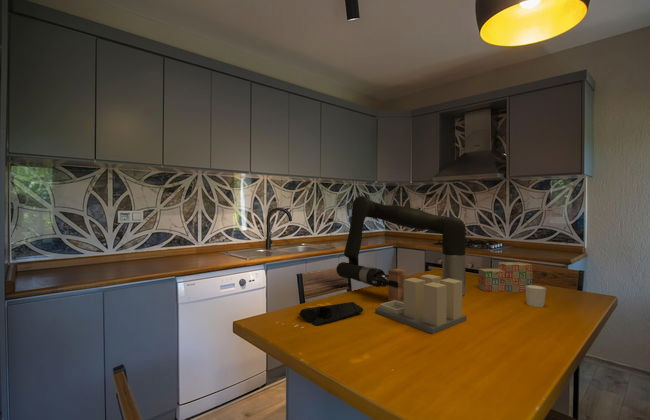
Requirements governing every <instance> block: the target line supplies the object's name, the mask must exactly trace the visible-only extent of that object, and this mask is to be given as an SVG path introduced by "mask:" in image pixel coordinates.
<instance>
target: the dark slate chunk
mask: <svg viewBox="0 0 650 420" xmlns="http://www.w3.org/2000/svg"><path fill="white" fill-rule="evenodd" d="M363 312H364V308H363V306H361V305H359V304H357V303H356V302H354V301H349V302H343V303H336V304H328V305H321V306H315V307H314V306H313V307H306V308H302V309H301V310H300V311H299V313H298V316H300V317H302V319H303V320H304V321H305V322H307V323H309V324H312V325H314V326H322V325H325V324H330V323H335V322H338V321H340V320H344V319H348V318H351V317H354V316H357V315H359V314H360V313H363Z"/></svg>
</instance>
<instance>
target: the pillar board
mask: <svg viewBox="0 0 650 420" xmlns="http://www.w3.org/2000/svg"><path fill="white" fill-rule="evenodd" d="M419 276H420V278H416V277H410V278H406V279H405V280H404V301H401V302H399V301H396V300H394V301H391V300H389V301H387V302H382V303H379V307H376V308H375V309H374V313H375V314H378V315H380V316H384V317H386V318H389V319H392V320H394V321H397V322H399V323H403V324H404V325H407V326H410V327H413V328H416V329H419V330H422V332H426V333H429V334H432V335H434V334H436V333H438V332H441V331H443V330H446V329H449V328H452V327H454V326H456V325H458V324H461V323H464V322H466V321H467V315H464V314H463V296H462V281H459V280H454V279H450V278H448V279H444V280H442V276H439V275H435V274H423V275H419Z"/></svg>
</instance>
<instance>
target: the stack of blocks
mask: <svg viewBox="0 0 650 420" xmlns="http://www.w3.org/2000/svg"><path fill="white" fill-rule="evenodd" d="M533 271H534V265H533V264H530V263H527V262H519V261H512V262H510V261H509V262H504V261H503V262H501V261H499V262H498V263H497V268H479V269H478V289H480V290H482V291H483V292H492V293H493V292H500V293H501V292H507V293H508V292H511V293H513V292H519V293H520V292H521V293H524V292H525V293H526V288H525V286H526V285H533V281H534V280H533V279H534V272H533Z"/></svg>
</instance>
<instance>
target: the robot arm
mask: <svg viewBox="0 0 650 420" xmlns="http://www.w3.org/2000/svg"><path fill="white" fill-rule="evenodd" d="M366 218H370V219H371V218H372V219H377V220H378V219H379V220H383V221H385V222H388V223H391V224H394V225H396V226H399V227H400V226H401V227H404V228H409V229H413V230H414V229H416V230H426V231H427V230H428V231H431V232H432V231H433V232H435V233H439V234H441V237H442V242H441V243H442V244H441V245H442V246H441V247H442V248H441V249H442V276H441V280H444V279H448V278H450V279H454V280H459V281H462V297H463V296H465V295H466V290H467V288H466V286H467V285H466V284H467V283H466V282H467V280H466V279H467V277H466V276H467V273H466V247H467V246H466V240H467V239H466V238H467V237H466V236H467V234H466V233H467V231H466V230H467V229H466V224H465V222H464V221H463V220H462V219H461V218H458V217H454V216H452V217H451V216H443V215H442V216H441V215H437V214H434V213H429V212H428V211H427V212H426V211H424V210H421V209H417V208H414V207H408V206H404V205H397V204H396V205H394V204H393V205H392V204H384V203H379V202H375V201H373V200H371V199H369V198H368V197H367V196H364V195H360V196H357V197H356V198H354V200H353V202H352V206H351V219H350V225H349V231H348V235H347V239H346V243H345V248H344V252H343V255H344V257H346V258H347V259H348V262H345V261H341V262H340V263H338V264H337V266H336V269H335V271H336V274H337V275H338V276H339V277H341V278H346V279H350V280H351V279H352V280H354V281H357V282H360V283H363V284H366V285H370V286H371V287H377V288H380V287H382V288H385V287H389V286H391V287H395V288H398V287H399V283H398V282H396V281H390V280H388V274H387V273H385V271H384V270H383V269H380V268H376V267H371V266H364V265H359V256H360V250H361V247H362V241H363V229H364V223H365V220H366Z"/></svg>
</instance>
